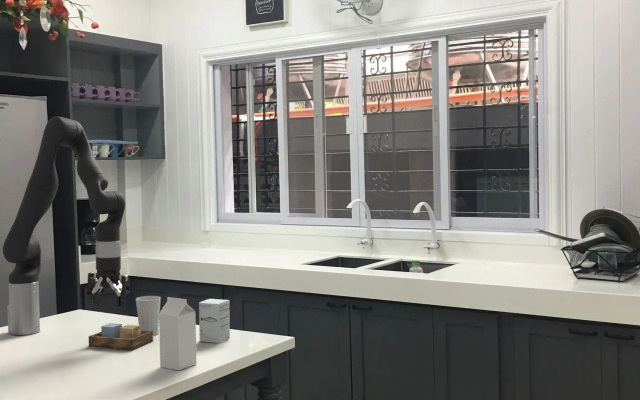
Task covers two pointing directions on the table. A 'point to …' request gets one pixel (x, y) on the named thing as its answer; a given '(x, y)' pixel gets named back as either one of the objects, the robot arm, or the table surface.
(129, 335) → the oak block
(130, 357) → the table surface
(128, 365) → the table surface
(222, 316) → the supplement box
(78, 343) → the table surface
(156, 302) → the cup
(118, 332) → the slate block
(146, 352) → the table surface
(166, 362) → the milk carton
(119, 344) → the tray
